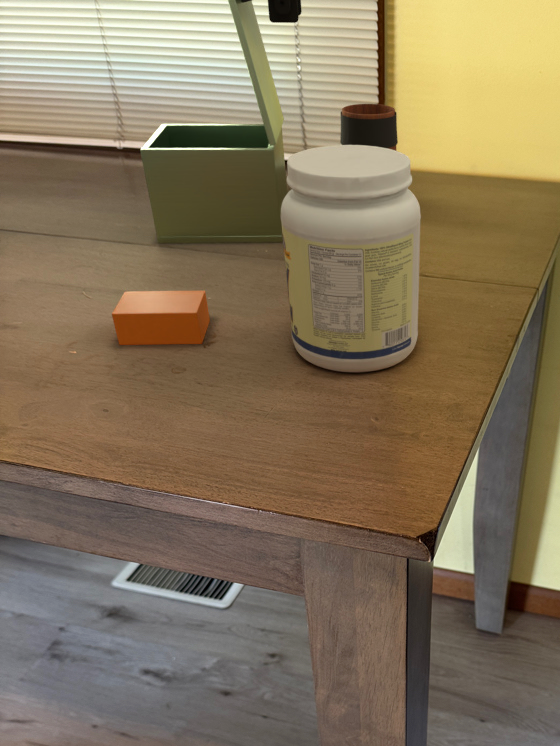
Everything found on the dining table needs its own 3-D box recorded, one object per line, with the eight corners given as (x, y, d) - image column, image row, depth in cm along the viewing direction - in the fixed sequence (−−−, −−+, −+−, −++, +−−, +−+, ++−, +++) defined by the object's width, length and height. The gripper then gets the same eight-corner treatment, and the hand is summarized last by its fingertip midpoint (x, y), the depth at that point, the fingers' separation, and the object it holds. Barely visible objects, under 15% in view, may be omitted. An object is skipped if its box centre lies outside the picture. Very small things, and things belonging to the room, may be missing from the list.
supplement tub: (313, 316, 79) (300, 138, 68) (427, 327, 77) (433, 145, 66) (275, 370, 70) (254, 173, 59) (404, 383, 68) (407, 184, 57)
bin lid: (220, -24, 78) (270, -37, 78) (235, -33, 89) (279, -44, 88) (269, 146, 89) (314, 135, 88) (278, 120, 99) (317, 111, 99)
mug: (384, 183, 117) (384, 97, 110) (406, 205, 108) (407, 114, 101) (330, 186, 115) (326, 99, 108) (347, 210, 106) (344, 117, 99)
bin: (158, 243, 95) (139, 149, 88) (177, 210, 106) (161, 123, 99) (282, 242, 96) (273, 149, 89) (288, 209, 106) (281, 123, 100)
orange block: (119, 345, 73) (111, 313, 71) (131, 321, 78) (124, 291, 75) (202, 344, 74) (196, 312, 72) (210, 320, 78) (205, 290, 76)
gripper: (241, -193, 81) (260, 10, 93) (220, -211, 68) (245, 28, 80) (311, -191, 82) (321, 10, 93) (303, -210, 69) (316, 28, 80)
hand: (286, 16), depth 86 cm, fingers open, 6 cm apart
